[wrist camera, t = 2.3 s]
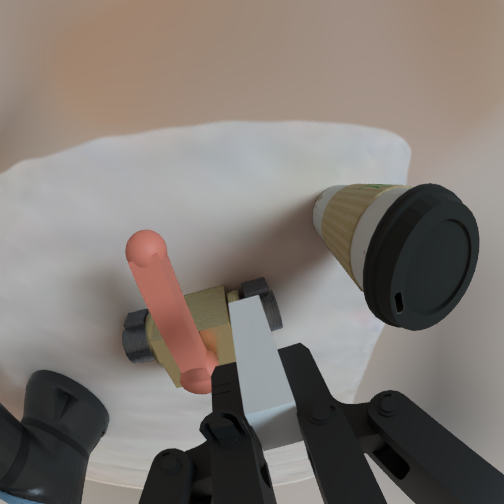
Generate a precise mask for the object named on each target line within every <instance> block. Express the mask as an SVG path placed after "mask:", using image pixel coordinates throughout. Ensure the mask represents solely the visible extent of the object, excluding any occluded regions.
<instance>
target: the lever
mask: <svg viewBox="0 0 504 504" xmlns="http://www.w3.org/2000/svg"><path fill="white" fill-rule="evenodd" d="M125 253H126V258H127V261H128V264H129V266H130V269H131V271H132V274H133V276H134V278H135V281H136V283H137V285H138V287H139V290H140V292H141V294H142V296H143V299H144V301H145V303H146V305H147V307H148V309H149V311H150V314H151V316H152V318H153V320H154V322H155V324H156V326H157V328H158V330H159V332H160V334H161V336H162V338H163V339H164V341H165V343H166V345H167V347H168V349H169V351H170V353H171V354H172V356H173V358H174V360H175V362H176V363H177V365H178V367H179V369H180V370H181V376H180V383H181V385H182V386H183V388H184V389H186V390H187V391H189V392H191V393H195V394H208V393H211V392H212V390H211V388H212V387H211V375H212V373H213V371H214V369H215V366H219V363H218V358H217V356H216V355H215V354H214V353H213V352H212V351H210V350H208V349H206V348H205V345H204V343H203V341H202V339H201V336H200V334H199V332H198V330H197V327H196V325H195V323H194V320H193V318H192V316H191V313H190V311H189V308H188V306H187V304H186V301H185V299H184V296H183V294H182V291H181V289H180V286H179V284H178V281H177V278H176V276H175V273H174V271H173V268H172V265H171V262H170V260H169V257H168V254H167V247H166V243H165V241H164V239H163V238H162V237H161V236H160V235H159V234H158V233H156V232H154V231H151V230H141V231H138V232H136V233H135V234H133V235H132V236H131V237H130V239H129V240H128V242H127V245H126V250H125Z"/></svg>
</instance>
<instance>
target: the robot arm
mask: <svg viewBox="0 0 504 504" xmlns="http://www.w3.org/2000/svg"><path fill="white" fill-rule="evenodd" d="M228 304H229V312H230V320H231V327H232V334H233V342H234V349H235V356H236V362H232V363H228V364H224V365H219V366H215V369H214V371H213V373H212V375H211V387H212V388H211V390H212V410H213V412H212V413H210V414H209V415H208V416H206V417H205V418H204V420H203V421H202V422H201V424H200V429H199V431H200V432H201V433H202V434H203V436H204V437H205V438H206V439H207V441H205V442H204V443H203V444H201V445H199V446H197V447H195V448H192V449H190V450H188V451H185V452H183V451H182V450H179V449H176V448H173V449H166V450H163V451H161V452H160V453H159V454H157V455H156V457H155V458H154V460H153V462H152V465H151V468H150V471H149V474H148V477H147V480H146V483H145V486H144V489H143V491H142V495H141V498H140V501H139V504H277V503H276V499H275V495H274V490H273V486H272V482H271V478H270V473H269V469H268V465H267V462H266V460H265V458H264V455H263V450H264V451H265V450H269V449H273V448H277V447H281V446H285V445H289V444H292V443H296V442H299V441H302V440H304V443H305V446H306V450H307V454H308V459H309V460H310V463H311V466H312V469H313V472H314V475H315V478H316V480H317V484H318V486H319V490H320V493H321V495H322V498H323V501H324V504H387V502H386V500H385V498H384V496H383V493H382V491H381V489H380V487H379V485H378V483H377V481H376V479H375V477H374V474H373V472H372V470H371V468H370V466H369V464H368V462H367V460H366V458H365V456H364V453H367V454H368V455H369V456H370V457H371V459H373V461H374V462H375V463H376V464H377V465H378V466H379V467H380V468H381V469H382V470H383V471H384V472H385V473H386V474H387V475H388V476H389V477H390V479H391V480H392V481H393V482H394V483H395V484H396V485H397V486H398V487H399V488H400V489H401V490H402V491H403V492H404V493H405V494H406V495H407V496H408V497H409V498H410V499H411V500H412V501H414V503H416V504H504V475H503V474H502V473H501V472H500V471H498V470H497V469H496V468H494V467H493V466H492V465H491V464H489V463H488V462H487V461H486V460H484V459H483V458H482V457H480V456H479V455H478V454H477V453H475V452H474V451H473V450H472V449H470V448H469V447H468V446H467V445H465V444H464V443H463V442H462V441H460V440H459V439H458V438H457V437H455V436H454V435H453V434H452V433H450V432H449V431H448V430H447V429H446V428H444V427H443V426H442V425H441V424H439V423H438V422H437V421H435V420H434V419H433V418H432V417H431V416H430V415H428V414H427V413H426V412H425V411H423V410H422V409H421V408H420V407H419V406H417V405H416V404H415V403H414V402H412V401H411V400H410V399H409V398H408V397H406V396H405V395H404V394H402V393H400V392H398V391H392V390H388V391H383V392H381V393H379V394H377V395H376V396H374V397H373V398H372V399H371V401H370V402H368V403H360V404H345V403H341V402H339V401H337V400H336V399H335V398H333V396H332V395H331V394H330V392H329V389H328V387H327V385H326V383H325V381H324V379H323V377H322V375H321V373H320V371H319V369H318V367H317V365H316V363H315V361H314V359H313V356H312V354H311V352H310V350H309V349H308V348H307V347H305V346H304V345H303V344H301V343H297V344H294V345H291V346H288V347H284V348H281V349H278V350H277V348H276V345H275V342H274V339H273V336H272V333H271V330H270V327H269V324H268V321H267V318H266V315H265V312H264V310H263V307H262V304H261V301H260V298H259V295H256V296H253V297H249V298H245V299H242V300H238V301H234V302H231V303H228ZM108 423H109V415H108V412H107V410H106V408H105V407H104V405H103V404H102V403H101V402H100V400H99V399H98V398H97V397H96V396H95V395H93V394H92V393H91V392H90V391H89V390H87V389H86V388H85V387H83V386H82V385H80V384H79V383H77V382H75V381H74V380H72V379H70V378H68V377H66V376H63V375H61V374H58V373H55V372H51V371H44V370H42V371H37V372H35V373H33V374H32V376H31V378H30V379H29V381H28V383H27V386H26V394H25V401H24V413H23V418H22V420H21V422H19V421H18V420H17V419H16V418H15V417H14V416H13V415H12V414H11V413H10V412H9V411H8V410H7V409H6V408H5V407H4V406H3V405H2V404H1V403H0V499H1V500H3V501H5V502H7V503H8V504H81V501H82V494H83V488H84V481H85V476H86V470H87V465H88V460H89V456H90V453H91V452H92V451H93V449H94V448H95V447H96V445H97V444H98V442H99V440H100V438H101V437H103V436H104V434H105V433H106V431H107V427H108ZM262 449H263V450H262Z"/></svg>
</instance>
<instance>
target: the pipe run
mask: <svg viewBox="0 0 504 504" xmlns="http://www.w3.org/2000/svg"><path fill="white" fill-rule="evenodd" d="M241 285H242V289H243V292H244V296H245V298H249V297H253V296H256V295H259V298H260V301H261V304H262V307H263V310H264V312H265V315H266V318H267V321H268V324H269V327H270V330H271V331H274V330H278V329H281V328H283V325H282V320H281V316H280V312H279V309H278V305H277V302H276V299H275V297H274V294H273V292H272V290H270V291H269V288H268V286H267V284H266V281H265V279H264V277H262V278H259V279H255V280H252V281H248V282H245V283H241ZM245 298H242V299H245ZM184 299H185V301H186V304H187V306H188V308H189V311H190V313H191V316H192V318H193V320H194V323H195V325H196V327H197V330H198V332H199V334H200V336H201V339H202V341H203V343H204V345H205V348H206V349H208V350H210V351H212V352H213V353H214V354H215V355H216V356H217V358H218V363H219V365H224V364H228V363H232V362H236V356H235V349H234V342H233V334H232V327H231V320H230V312H229V304H228V303H231V302H234V301H238V300H242V299H240V298H239V295H238V292H237V290H233V291H230V292H227V295H226V292H225V289H224V286H223V285H221V286H218V287H214V288H210V289H207V290H203V291H200V292H196V293H192V294H188V295H185V296H184ZM123 326H124V328H125V329H124V331H123V335H122V342H123V347H124V350H125V353H126V355H127V357H128V358H129V360H130V361H131V362H133V363H141V362H147V361H152V360H156V362H157V363H158V364H159V365H160V366H161V367H163V368H165V369H166V371H167V373H168V374H169V376H170V378H171V379H172V381H173V382H174V384H175V386H176V387H177V388H178V387H183V386H182V385H181V383H180V376H181V370H180V369H179V367H178V365H177V363H176V362H175V360H174V358H173V356H172V354H171V353H170V351H169V349H168V347H167V345H166V343H165V341H164V339H163V338H162V336H161V334H160V332H159V330H158V328H157V326H156V324H155V322H154V320H153V318H152V316H151V314H150V313H149V312H148V309H144V310H140V311H136V312H132V313H129V314H128V316H127V318H126V321H125V323H124V325H123Z"/></svg>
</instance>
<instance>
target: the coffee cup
mask: <svg viewBox="0 0 504 504" xmlns="http://www.w3.org/2000/svg"><path fill="white" fill-rule="evenodd" d="M312 218H313V224H314V227H315V229H316V231H317V233H318V234H319V235H320V237H321V238H322V239H323V240H324V242H325V244H326V245H327V247H328V249H329V250H330V251H331V252H332V254H333V255H334V256H335V258H336V259H337V260H338V261H339V263H340V264H341V265H342V267H343V268H344V269H345V271H346V272H347V273H348V275H349V276H350V277H351V279H352V280H353V281H354V283H355V284H356V285H357V286H358V288H359V289H360V290H361V291H362V292H364V296H365V300H366V302H367V305H368V307H369V309H370V310H371V312H372V313H373V314H374V315H375V317H377V318H378V319H380V320H381V321H383V322H384V323H386V324H388V325H391V326H395V327H402V328H405V329H408V330H412V331H416V330H423V329H426V328H429V327H431V326H433V325H435V324H437V323H438V322H440V321H441V320H442V319H444V318H445V317H446V316H447V315H448V314H449V313H450V312H451V311H452V310H453V309H454V308H455V306H456V305H457V304H458V303H459V301H460V300H461V298H462V297H463V295H464V294H465V292H466V290H467V288H468V286H469V284H470V282H471V279H472V277H473V274H474V272H475V268H476V264H477V260H478V253H479V232H478V227H477V223H476V219H475V218H474V216H473V214H472V212H471V211H470V210H469V209H468V207H466V206H465V205H464V204H463V203H462V201H461V200H460V199H459V198H458V197H457V196H456V195H455V194H454V193H453V192H452V191H450V190H448V189H446V188H444V187H442V186H441V185H436V184H431V183H429V184H422V185H418V186H416V187H411V186H404V185H384V184H353V185H337V186H333V187H330V188H328V189H327V190H325V191H324V192H323V193H322V194H321V195H320V196H319V197H318V199H317V201H316V203H315V205H314V209H313V216H312Z"/></svg>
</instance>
